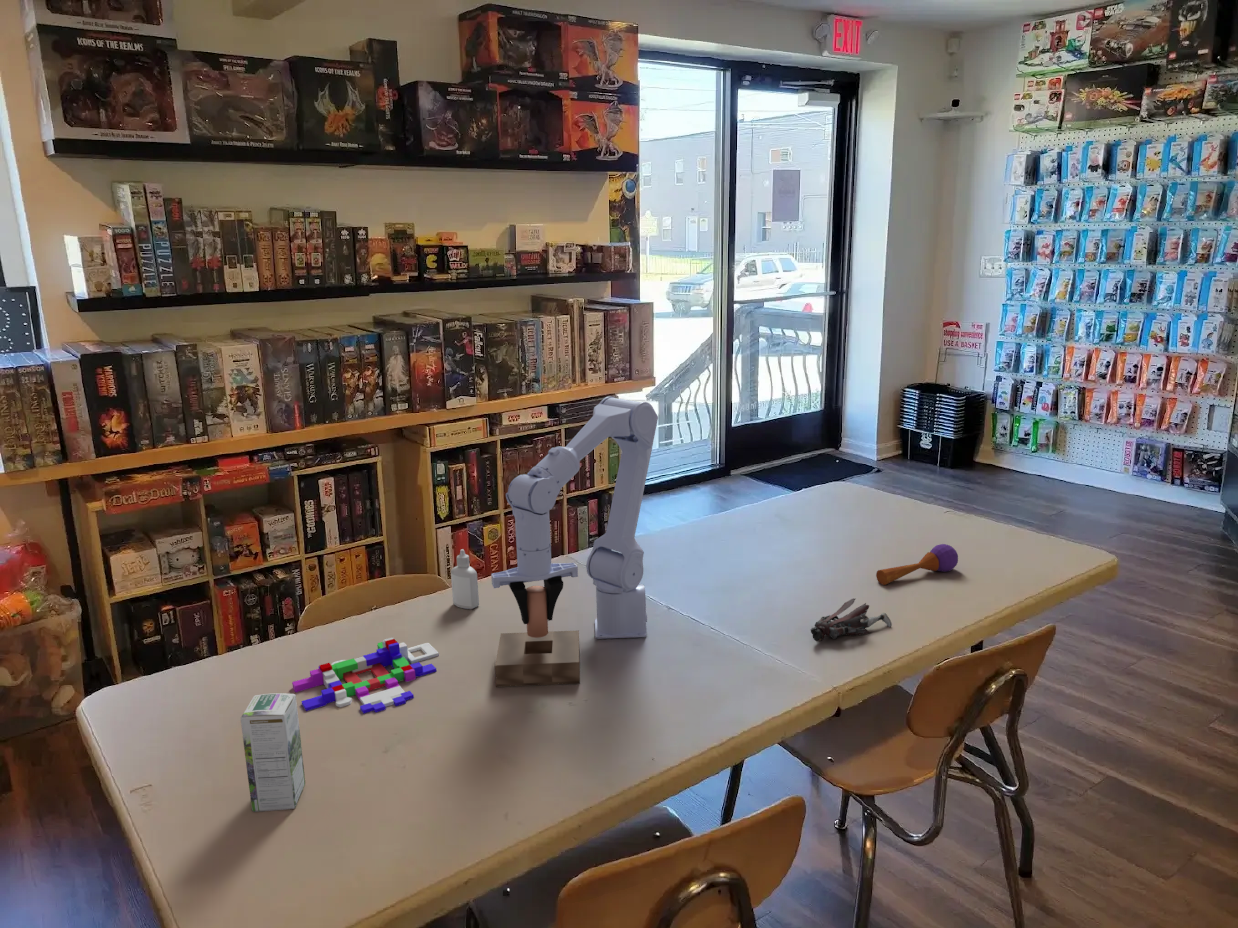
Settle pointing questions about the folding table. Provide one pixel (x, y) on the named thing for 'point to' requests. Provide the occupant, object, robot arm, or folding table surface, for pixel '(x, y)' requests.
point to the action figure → (846, 623)
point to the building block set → (348, 670)
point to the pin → (537, 611)
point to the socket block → (538, 659)
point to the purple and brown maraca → (923, 564)
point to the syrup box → (273, 752)
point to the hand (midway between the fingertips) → (537, 619)
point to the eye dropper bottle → (464, 583)
